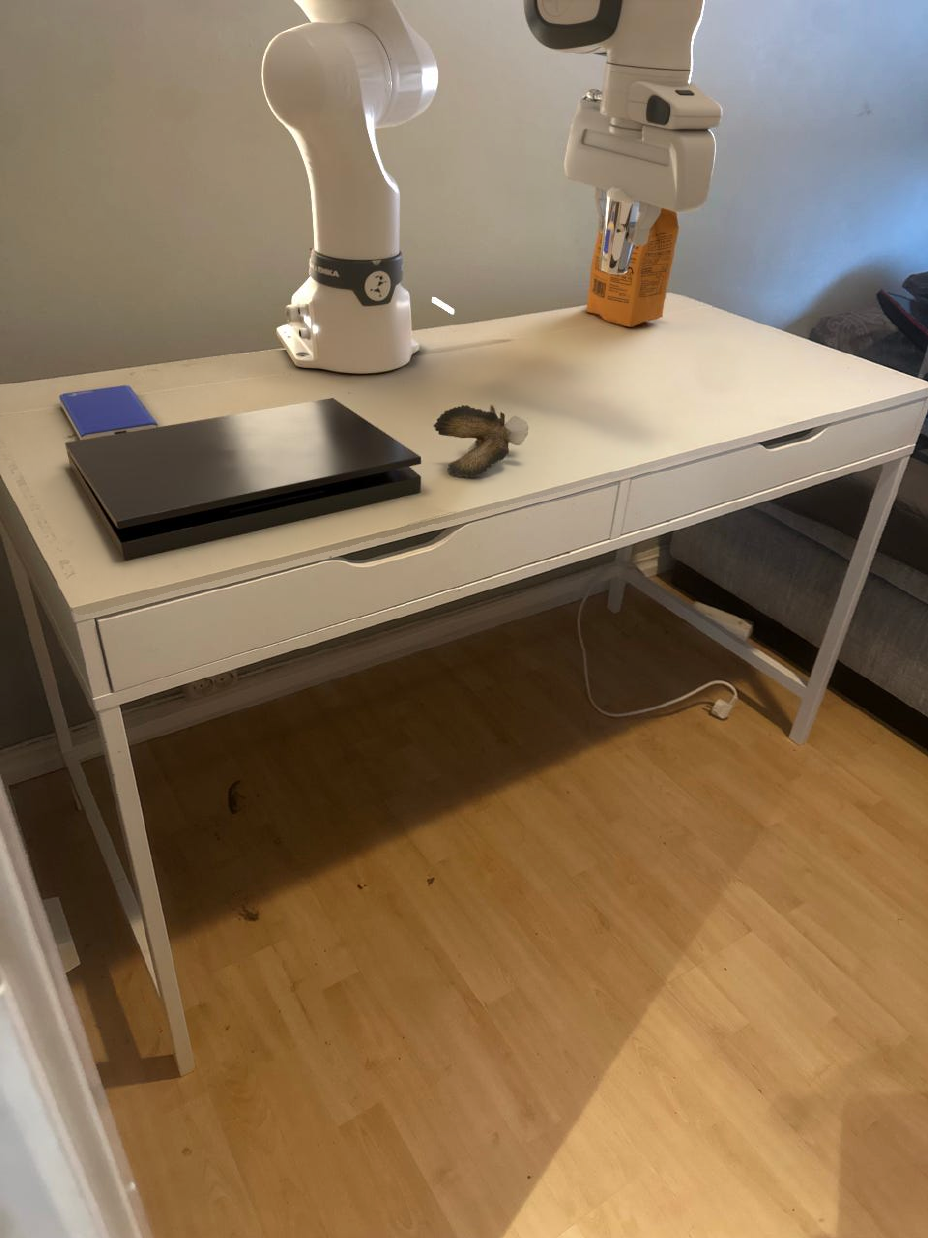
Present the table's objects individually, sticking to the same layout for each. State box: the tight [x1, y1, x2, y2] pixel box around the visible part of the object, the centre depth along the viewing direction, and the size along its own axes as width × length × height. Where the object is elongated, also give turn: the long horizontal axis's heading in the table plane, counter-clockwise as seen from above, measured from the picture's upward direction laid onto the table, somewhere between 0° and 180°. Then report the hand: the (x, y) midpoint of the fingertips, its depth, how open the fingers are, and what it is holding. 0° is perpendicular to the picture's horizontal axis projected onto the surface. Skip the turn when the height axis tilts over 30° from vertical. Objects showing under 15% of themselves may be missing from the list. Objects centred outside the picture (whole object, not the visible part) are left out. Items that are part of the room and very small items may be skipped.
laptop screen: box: [64, 397, 422, 529], centre depth 91 cm, size 21×30×1 cm
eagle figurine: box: [433, 404, 530, 478], centre depth 97 cm, size 8×7×9 cm
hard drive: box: [58, 384, 159, 440], centre depth 102 cm, size 2×8×12 cm
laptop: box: [66, 450, 422, 561], centre depth 92 cm, size 21×30×2 cm
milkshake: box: [599, 187, 642, 274], centre depth 100 cm, size 4×5×10 cm
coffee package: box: [585, 208, 680, 328], centre depth 141 cm, size 10×12×22 cm
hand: (621, 238), depth 101 cm, fingers closed on milkshake, 4 cm apart
